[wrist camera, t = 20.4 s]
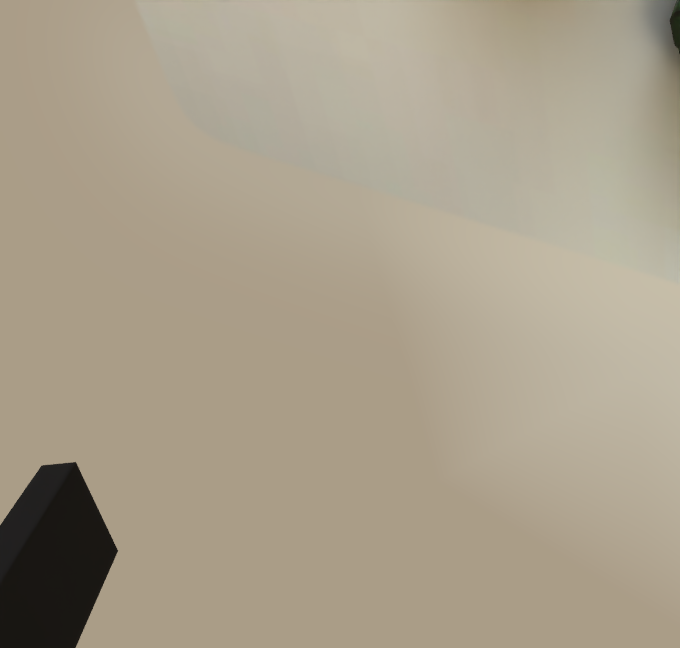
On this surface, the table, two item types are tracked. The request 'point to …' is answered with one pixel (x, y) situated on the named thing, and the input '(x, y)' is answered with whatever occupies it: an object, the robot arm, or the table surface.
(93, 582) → the robot arm
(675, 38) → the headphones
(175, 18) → the table surface
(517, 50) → the table surface
